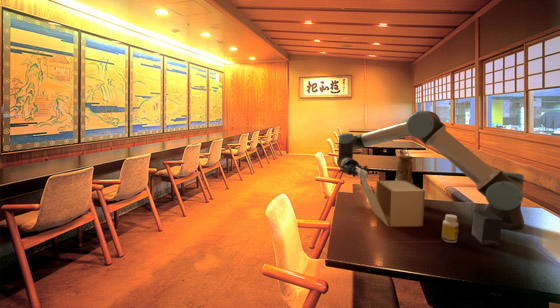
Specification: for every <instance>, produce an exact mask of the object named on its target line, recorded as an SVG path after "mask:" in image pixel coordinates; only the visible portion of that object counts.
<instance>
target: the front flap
mask: <svg viewBox="0 0 560 308" xmlns="http://www.w3.org/2000/svg"><path fill="white" fill-rule="evenodd" d="M356 169H357V170H359V171H360V172H362V170H361V169H360V168H358V167H357V166H356ZM360 180H361V183H360V186H361V188H362V189H363V192H364V194H365V196H366V199H367V200H368V203H369V205H370V207H371V209H372V213H374V214H375V215H376V217H378V218H379V219H380V220H381V221H382V222H383V224H385V225H386V226H387V227H390V223H389V222H388V221H387V219H386V217H385V215H384V213H383V211H382V208H381V206H380V204H379V202H378V199H377V197H376V193H375V192H374V191H373V190H372V189H371V187H370V186H369V184H368V180H367V178H365V176H364V174H363V172H362V177H361V178H360Z"/></svg>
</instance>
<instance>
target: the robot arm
mask: <svg viewBox="0 0 560 308" xmlns="http://www.w3.org/2000/svg"><path fill="white" fill-rule="evenodd" d="M407 137H413V138H415V139H418V140H419V141H421V142H422V143H423V144H424V145H425V146H432V148H434V149H435V150H436V151H437V152H439V153H440V154H441V155H442V156H443V157H444V158H446V159H447V160H448V161H449V162H450V163H452V164H453V166H455V167H456V168H457V169H459V170H460V172H462V173H463V174H464V175H465V176H467V177H468V178H469V179H470V180H471V181H472V182H473V183H474V184H476V190H477V191H478V192H479V193H480V194H481V195H482V196H483V197H485V200H486V201H487V202H488V204H487V206H486V208H485V210H484V211H490V212H492V213H493V214H495V215H496V216H498V217H499V218H501V219H502V225H501V229H506V230H508V229H509V230H520V229H521V230H522V229H523V228H525V220H524V216H523V212H522V208H521V207H522V202H523V200H524V192H523V191H524V190H523V189H524V188H523V187H524V182H525V179H524V174H522V173H517V172H509V171H506V172H505V171H502V170H500V169H493V168H492V167H491V166H489V165H488V164H487V163H486V162H485V161H483V159H481V158H480V157H479V156H478V155H476V154H475V153H474V152H472V151H471V150H470V149H469V148H467V147H466V146H465V145H464V144H463V143H461V142H460V140H458V139H457V138H455V136H453V135H452V133H450V132H448V131H447V125H446V124H444V123H443V122H442V121H441V119H440V117H439V116H438V114H437V113H435V112H433V111H431V110H430V111H429V110H418V111H415V112H414V113H412V114H411V115H409V117H407V120H406V121H403V122H399V123H396V124H394V125H389V126H385V127H382V128H379V129H374V130H371V131H367V132H364V133H360V134H356V135H354V134H353V133H339V135H338V156H337V159H336V165H337V166H338V167H339V168H340V172H343V173H344V174H347V175H349V176H352V177H354V178H355V177H357V178H358V179H361V177H362V172H363V174H364V176H365V179H368V177H369V174H370V169H369V167H368V165H363V166H362V165H360V164H359V162H358V161H357V160H356V159H354V150H359V149H363V148H366V147H370V146H375V145H379V144H382V143H387V142H390V141H395V140H399V139H403V138H407ZM356 166H357V167H358V168H360V169H361V170H362V172H360V171H359V170H357V169H356Z"/></svg>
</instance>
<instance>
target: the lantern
mask: <svg viewBox="0 0 560 308" xmlns="http://www.w3.org/2000/svg"><path fill="white" fill-rule="evenodd" d="M404 149H406V151H407V154H408V155H402V154H403V151H404ZM398 158H399V160H398V162H397V163H396V165H397V166H396V174H395V179H394V181H407V182H409V183H411V184H414V183H413V182H414V180H413V176H412V172H413V171H414V169H413V161H412V160H413V159H414V157H413V156H411V155H410V154H409V149H408V148H407V147H404V148H402V150H401V153H400V155H398Z"/></svg>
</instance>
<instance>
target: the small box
mask: <svg viewBox="0 0 560 308" xmlns="http://www.w3.org/2000/svg"><path fill="white" fill-rule="evenodd" d="M472 214H473V215H472V216H473V218H472V225H471V233H470V235H471V236H472V237H473V238H474V239H475V240H476V241H477V242H478V243H479V244H480V245H483V246H484V245H485V246H492V247H493V246H496V247H499V246H500V245H501V244H500V242H501V232H502V228H501V225H502V219H501V218H499V217H498V216H496V215H495V214H493V213H492V212H490V211H485V210H480V209H473V213H472Z"/></svg>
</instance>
